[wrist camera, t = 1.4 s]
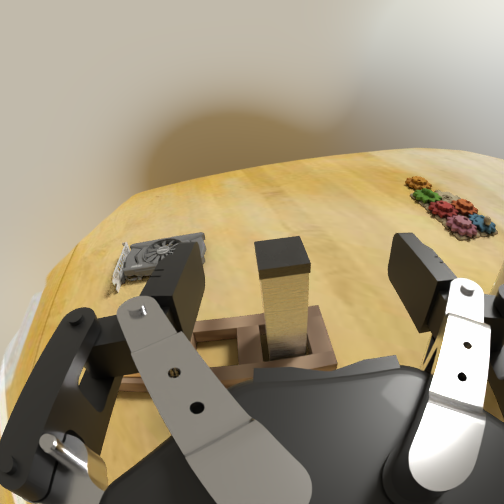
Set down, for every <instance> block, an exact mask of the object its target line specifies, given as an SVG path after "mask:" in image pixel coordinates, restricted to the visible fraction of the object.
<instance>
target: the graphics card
mask: <svg viewBox="0 0 504 504" xmlns="http://www.w3.org/2000/svg"><path fill="white" fill-rule="evenodd" d="M203 240H205V235H204V233H202V232H200V233H194V234H188V235H182V236H176V237H170V238H164V239H158V240H153V241H147V242H141V243H136V244H132V245H131V246H130V248H131V251H130V249H129V246H128V244H127V242H125V243H122V244H123V246H124V248H123V250H122V253H121V255H120V258H119V260H118V263H117V265H116V268H115V271H114V273H113V281H112V282H113V284H114V286H115V283H116V284H117V287H116V290H117V292H119V289H120V286H121V284H123V283H125V280H126V278H127V276H133V275H135V276H137V278H138V280H141V279H142V277H143V276H144V275H145V276H149V275H151V274H152V272H153V271H154V269H155V267H156V266H157V264H158V262H159V261H160V260H162V259H163V258H164V257H165V256H167V255H172V254H173V252H174V250H175V248H176V247H177V245H178V243H181V242H198V244H199V248H200V253H201V259H202V264H203V263H204V262H205V258H204V254H205V251H206V246H205V244H204V241H203ZM171 244H172V245H171ZM165 245H166V246H165ZM123 254H124V256H123ZM122 256H123V261H122V258H121V257H122ZM146 258H147V259H146ZM120 260H121V261H122V264H121V262H120ZM119 264H120V265H121V268H120V266H119ZM118 267H119V269H121V270H120V271H119V270H118V269H117V268H118ZM116 271H117V272H116ZM116 273H117V274H116ZM116 275H117V276H116ZM115 278H116V279H115ZM127 279H128V278H127ZM128 280H131V281H135V280H136V278H132V279H128Z"/></svg>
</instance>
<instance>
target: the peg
mask: <svg viewBox="0 0 504 504" xmlns="http://www.w3.org/2000/svg"><path fill="white" fill-rule="evenodd" d="M254 245H255V253H256V259H257V266H258V272H259V279H260V286H261V294H262V303H263V311H264V320H265V328H266V337H267V344H268V351H269V358H270V361H274V360H281V359H288V358H294V357H300V356H306V340H307V319H308V291H309V273H310V268H311V263H310V260H309V258H308V255H307V253H306V250H305V248H304V245H303V243H302V241H301V238H300V236H296V237H288V238H280V239H272V240H265V241H257V242H254Z"/></svg>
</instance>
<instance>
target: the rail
mask: <svg viewBox="0 0 504 504" xmlns="http://www.w3.org/2000/svg"><path fill="white" fill-rule="evenodd" d="M260 335H266V328H265V320H264V313H262V314H255V315H247V316H239V317H230V318H222V319H212V320H203V321H196V322H195V326H194V330H193V333H192V337H191V341H190V343H191V344H192V346H193V347H194V348H195V350H196V347H197V342H204V341H215V340H225V339H234V338H237V341H238V359H239V365H232V366H222V367H210V369H211V371H212V372H213V373H214V374H215V376H216V377H217V378H218V379H219V381H220V382H221V383H222V384H223V386H224V387H225V388H226V389H227V388H229V387H231V386H233V385H235V384H237V383H240V382H243V381H246V380H250V379H253V372H254V368H275V367H296V368H303V369H311V370H319V371H334V370H336V368H337V364H338V363H337V360H336V357H335V354H334V351H333V348H332V345H331V342H330V339H329V336H328V333H327V330H326V327H325V324H324V321H323V318H322V315H321V312H320V309H319V306H318V305H316V306H310V307H308V319H307V340H306V343H307V346H308V350H309V354H310V355H306V356H300V357H294V358H288V359H281V360H274V361H267V362H263V356H262V348H261V340H260ZM119 391H136V392H148V390H147V388H146V386H145V384H144V382H143V380H142V378H141V375H140V373H136V374H130V375H124V376H123V379H122V382H121V385H120V388H119Z"/></svg>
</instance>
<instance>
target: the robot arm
mask: <svg viewBox="0 0 504 504" xmlns="http://www.w3.org/2000/svg"><path fill="white" fill-rule="evenodd" d="M388 276H389V280H390V282H391V283H392V285H393V287H394V288H395V290H396V292H397V294H398V295H399V297H400V299H401V301H402V302H403V304H404V306H405V308H406V310H407V311H408V313H409V315H410V317H411V319H412V321H413V322H414V324H415V326H416V328H417V330H418V332H419V333H424V332H429V331H431V333H432V334H431V337H430V339H429V341H428V345H427V348H426V351H425V354H424V358H423V361H422V364H421V366H420V369H418V368H414V367H410V366H404V365H399V362H398V360H397V357H396V355H393V356H387V357H380V358H373V359H366V360H362V361H359V362H357V363H354V364H351V365H348V366H345V367H343V368H340V369H337V370H334V371H319V370H311V369H303V368H296V367H275V368H254V372H253V379H250V380H246V381H243V382H240V383H237V384H235V385H233V386H231V387H229V388H227V389H226V388H225V387H224V386H223V384H222V383H221V382H220V381H219V379H218V378H217V377H216V376H215V374H214V373H213V372H212V371H211V369H210V368H209V367H208V365H207V364H206V363H205V362H204V360H203V359H202V358H201V356H200V355H199V354H198V352H197V351H196V350H195V348H194V347H193V346H192V344H191V343H190V341H191V337H192V333H193V330H194V326H195V322H196V318H197V315H198V311H199V307H200V304H201V300H202V297H203V293H204V289H205V275H204V269H203V264H202V259H201V253H200V248H199V244H198V242H181V243H178V245H177V247H176V248H175V250H174V252H173V254H172V255H167V256H165V257H164V258H163V259H162V260H160V261H159V262H158V264H157V266H156V267H155V269H154V271H153V272H152V274H151V277H150V278H149V280H148V281H147V283H146V285H145V287H144V288H143V290H142V292H141V294H140V296H137V297H134V298H131V299H129V300H127V301H125V302H124V303H123V304H122V305H121V306H120V307H119V308H118V310H117V315H113V316H108V317H103V318H98V319H97V317H96V315H95V313H94V311H93V310H92V309H90V308H86V307H83V308H78V309H75V310H73V311H71V312H70V313H68V314H67V315H66V316H65V317H64V318H63V319H62V321H61V322H60V324H59V326H58V327H57V329H56V330H55V332H54V334H53V335H52V337H51V339H50V340H49V342H48V344H47V345H46V347H45V349H44V351H43V352H42V354H41V356H40V358H39V360H38V361H37V363H36V365H35V367H34V369H33V371H32V372H31V374H30V376H29V378H28V380H27V382H26V384H25V386H24V388H23V390H22V392H21V394H20V396H19V398H18V400H17V402H16V405H15V407H14V409H13V411H12V413H11V416H10V418H9V420H8V423H7V425H6V427H5V430H4V432H3V435H2V437H1V440H0V484H1V485H2V486H3V487H4V488H6V489H8V490H9V491H11V492H13V493H15V494H17V495H18V496H20V497H22V498H23V499H24V500H26V501H28V502H30V503H32V504H504V423H503V422H502V421H500V420H499V419H497V418H496V417H494V416H493V415H491V414H490V413H488V412H487V411H485V410H484V409H483V403H484V397H485V391H486V383H487V379H488V381H489V383H490V385H491V388H492V390H493V392H494V395H495V397H496V399H497V402H498V404H499V407H500V410H501V412H502V415H503V417H504V262H503V264H502V267H501V269H500V272H499V274H498V276H497V279H496V281H495V283H494V285H493V287H492V289H491V292H490V294H489V295H487V294H484V293H483V290H482V288H481V287H480V286H479V285H478V284H476V283H475V282H473V281H471V280H469V279H466V278H457V277H456V276H455V275H454V273H453V272H452V271H451V270H450V269H449V268H448V266H447V265H446V264H445V263H443V261H442V260H441V258H440V257H438V255H437V254H436V253H435V252H434V251H433V250H432V249H431V248H429V247H428V246H426V245H424V244H423V243H422V242H421V241H420V240H419V239H418V238H417V237H416V236H415V235H414V234H413V233H396V234H395V235H394V237H393V241H392V247H391V253H390V259H389V264H388ZM83 367H85V368H86V371H85V373H84V375H83V378H82V380H81V382H80V385H78V380H79V376H80V374H81V371H82V369H83ZM136 373H140V375H141V378H142V380H143V382H144V384H145V386H146V388H147V390H148V392H149V394H150V396H151V398H152V400H153V402H154V404H155V406H156V407H157V409H158V411H159V413H160V415H161V417H162V419H163V420H164V422H165V424H166V426H167V427H168V429H169V431H170V433H171V434H172V435H171V436H170V437H169V438H168V439H167V440H165V441H164V442H163V443H162V444H161V445H159V446H158V447H157V448H156V449H154V450H153V451H152V452H151V453H149V454H148V455H147V456H146V457H144V458H143V459H142V460H141V461H139V462H138V463H137V464H136V465H134V466H133V467H132V468H130V469H129V470H128V471H126V472H125V473H124V474H122V475H121V476H120V477H118V478H117V479H116V480H115V481H113V482H112V483H111V484H110V485H109V486H108V477H107V467H106V464H105V462H104V461H103V459H102V458H101V457H100V454H101V450H102V446H103V442H104V439H105V435H106V431H107V428H108V424H109V421H110V417H111V414H112V410H113V407H114V404H115V401H116V397H117V394H118V391H119V388H120V385H121V382H122V379H123V376H124V375H130V374H136Z"/></svg>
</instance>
